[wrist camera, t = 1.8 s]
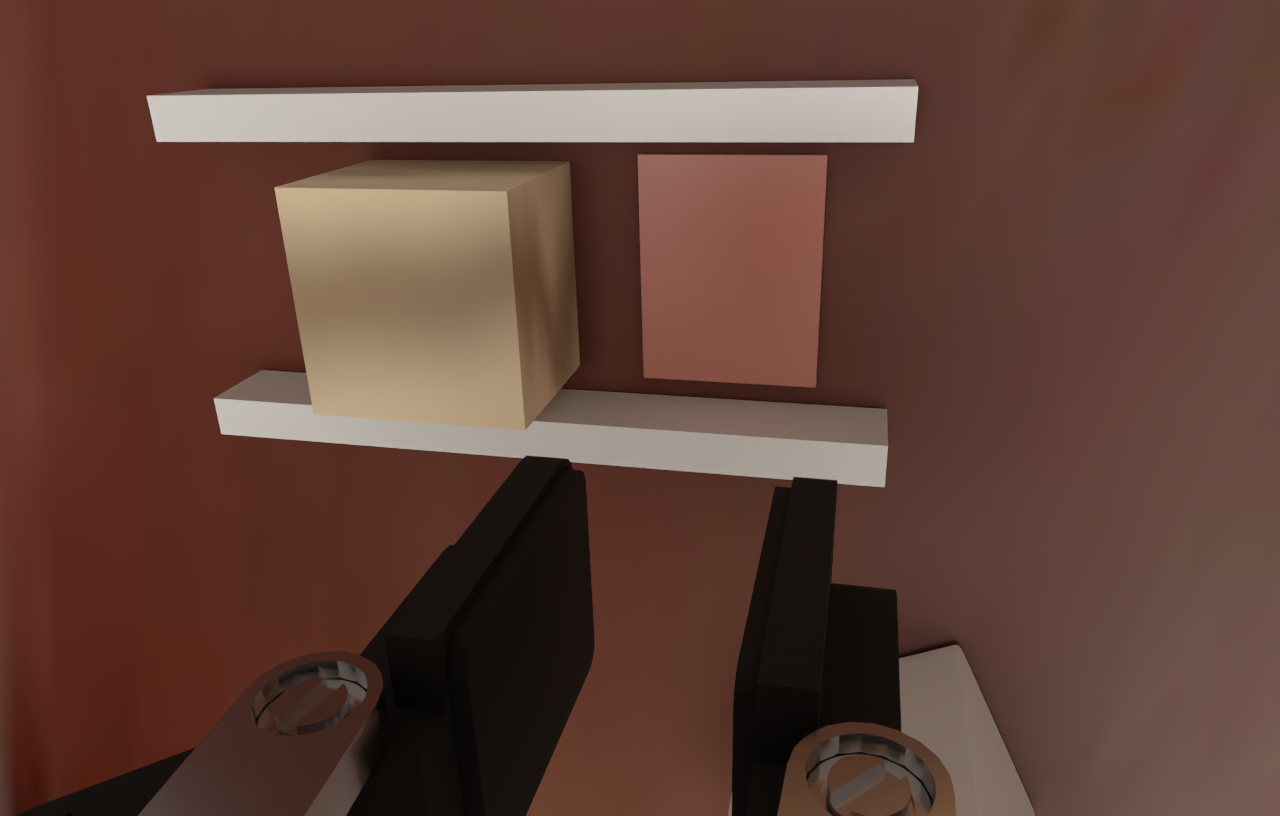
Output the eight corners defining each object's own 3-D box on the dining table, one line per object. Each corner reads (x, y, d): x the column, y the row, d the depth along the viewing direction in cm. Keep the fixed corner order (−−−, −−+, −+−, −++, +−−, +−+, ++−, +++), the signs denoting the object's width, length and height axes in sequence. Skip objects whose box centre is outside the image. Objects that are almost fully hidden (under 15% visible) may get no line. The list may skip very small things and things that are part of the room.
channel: (884, 447, 27) (884, 487, 24) (268, 403, 31) (221, 434, 29) (914, 79, 23) (918, 86, 21) (206, 88, 27) (146, 95, 25)
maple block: (581, 364, 28) (525, 430, 24) (399, 353, 29) (313, 414, 25) (570, 160, 26) (506, 191, 21) (374, 158, 27) (274, 187, 23)
